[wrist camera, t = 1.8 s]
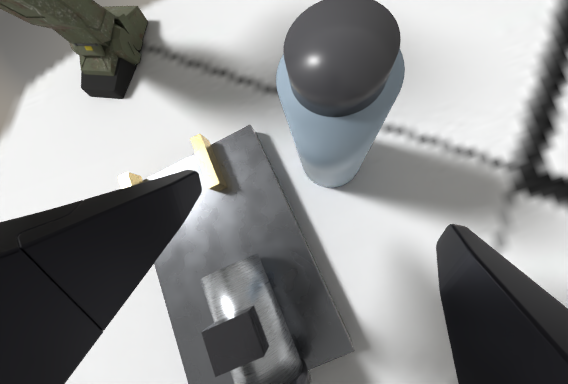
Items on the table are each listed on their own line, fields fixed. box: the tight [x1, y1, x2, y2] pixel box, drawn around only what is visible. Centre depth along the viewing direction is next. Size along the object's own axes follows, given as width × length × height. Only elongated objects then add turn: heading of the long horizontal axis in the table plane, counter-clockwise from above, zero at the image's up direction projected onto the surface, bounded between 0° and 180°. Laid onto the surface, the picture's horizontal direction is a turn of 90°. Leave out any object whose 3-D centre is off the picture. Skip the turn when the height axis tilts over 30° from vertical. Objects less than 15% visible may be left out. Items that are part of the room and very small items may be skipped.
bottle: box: [276, 0, 405, 188], centre depth 14 cm, size 5×5×13 cm
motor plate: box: [118, 125, 354, 384], centre depth 17 cm, size 20×13×7 cm, turn 24°
